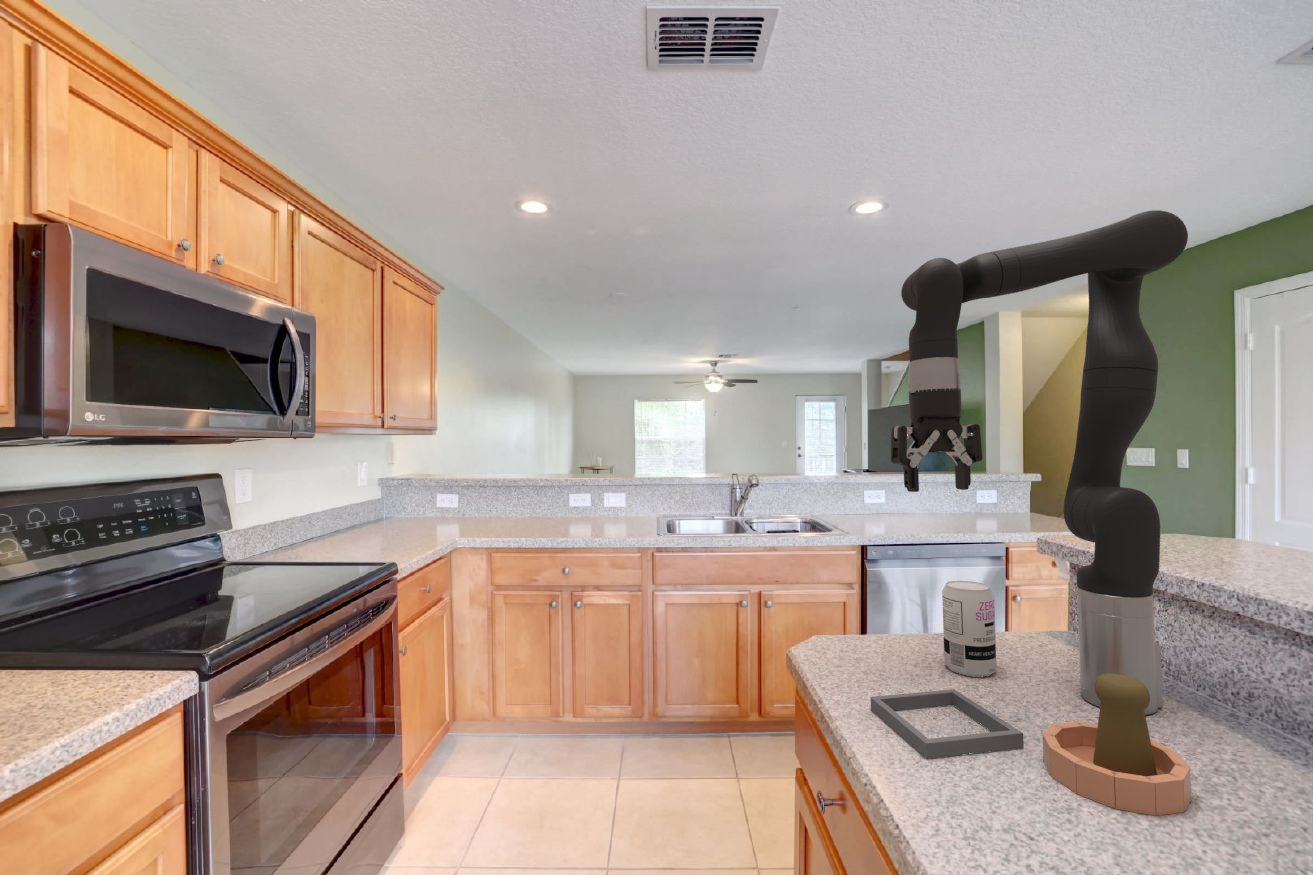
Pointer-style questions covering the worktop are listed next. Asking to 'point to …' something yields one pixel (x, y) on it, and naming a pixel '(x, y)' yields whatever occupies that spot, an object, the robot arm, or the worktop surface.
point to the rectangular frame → (995, 740)
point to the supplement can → (969, 628)
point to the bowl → (1115, 773)
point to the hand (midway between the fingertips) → (937, 490)
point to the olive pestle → (1123, 726)
